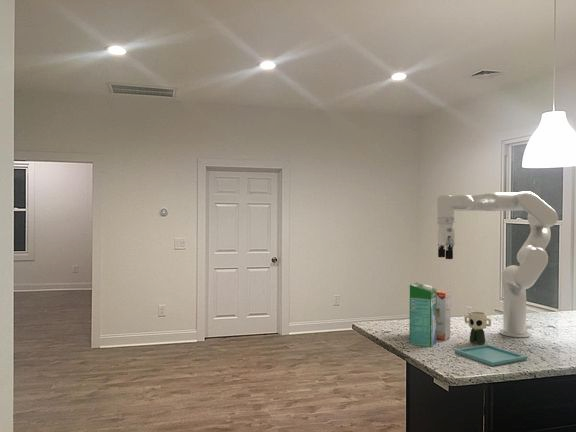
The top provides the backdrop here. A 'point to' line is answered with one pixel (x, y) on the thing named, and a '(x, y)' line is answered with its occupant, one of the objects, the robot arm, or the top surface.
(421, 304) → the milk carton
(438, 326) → the cracker box
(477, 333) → the character mug
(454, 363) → the top surface
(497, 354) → the tray
